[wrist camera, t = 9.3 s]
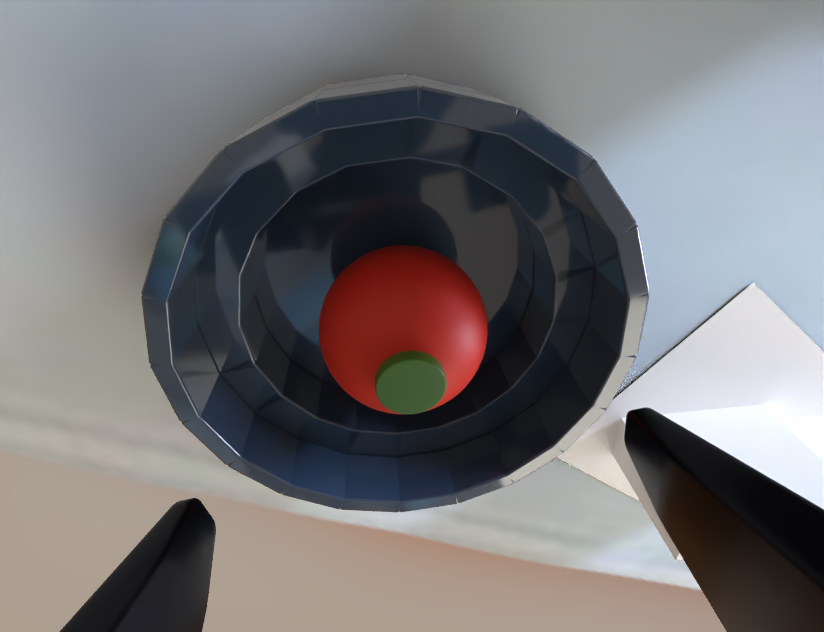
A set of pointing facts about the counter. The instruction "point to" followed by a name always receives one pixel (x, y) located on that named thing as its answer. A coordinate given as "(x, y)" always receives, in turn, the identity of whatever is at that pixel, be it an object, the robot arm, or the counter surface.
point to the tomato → (403, 329)
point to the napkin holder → (726, 402)
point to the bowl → (373, 229)
